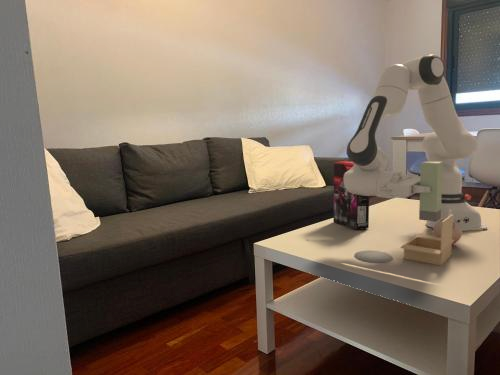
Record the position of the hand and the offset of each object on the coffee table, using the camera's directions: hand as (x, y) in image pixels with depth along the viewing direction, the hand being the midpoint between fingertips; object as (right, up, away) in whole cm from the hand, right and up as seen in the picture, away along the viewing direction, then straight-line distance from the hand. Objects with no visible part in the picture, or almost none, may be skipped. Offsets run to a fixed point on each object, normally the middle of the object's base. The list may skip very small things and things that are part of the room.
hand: (434, 187), depth 123 cm
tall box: (0, -10, +2) cm, 10 cm away
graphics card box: (-14, -16, +47) cm, 52 cm away
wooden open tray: (0, -23, +4) cm, 23 cm away
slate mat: (-17, -23, +6) cm, 29 cm away
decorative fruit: (+12, -21, +16) cm, 29 cm away
